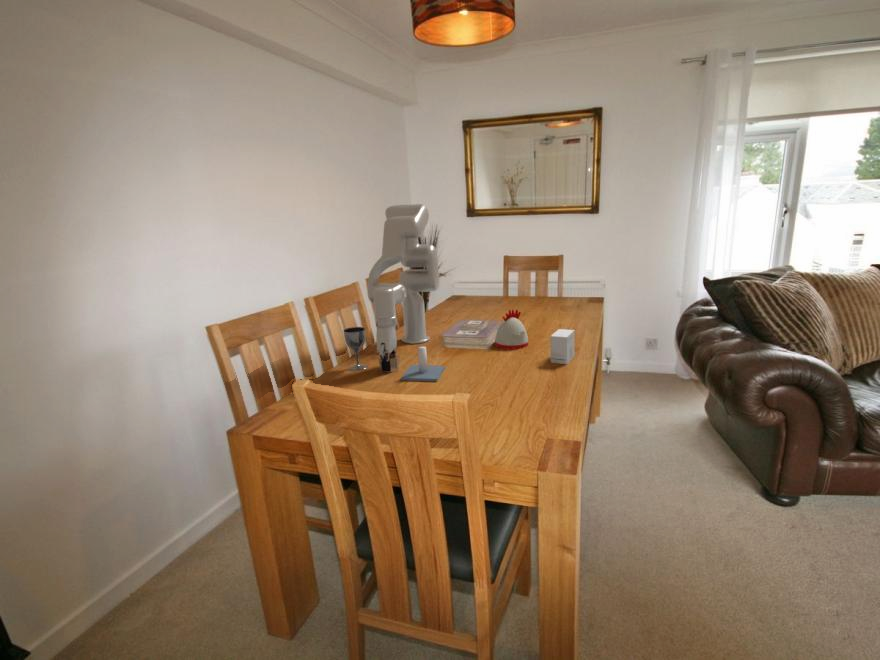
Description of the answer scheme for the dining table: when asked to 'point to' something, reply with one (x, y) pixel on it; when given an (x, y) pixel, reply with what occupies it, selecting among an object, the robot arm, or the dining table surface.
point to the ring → (391, 363)
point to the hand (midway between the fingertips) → (389, 367)
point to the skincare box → (562, 346)
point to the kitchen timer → (511, 332)
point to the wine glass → (355, 344)
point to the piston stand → (423, 369)
